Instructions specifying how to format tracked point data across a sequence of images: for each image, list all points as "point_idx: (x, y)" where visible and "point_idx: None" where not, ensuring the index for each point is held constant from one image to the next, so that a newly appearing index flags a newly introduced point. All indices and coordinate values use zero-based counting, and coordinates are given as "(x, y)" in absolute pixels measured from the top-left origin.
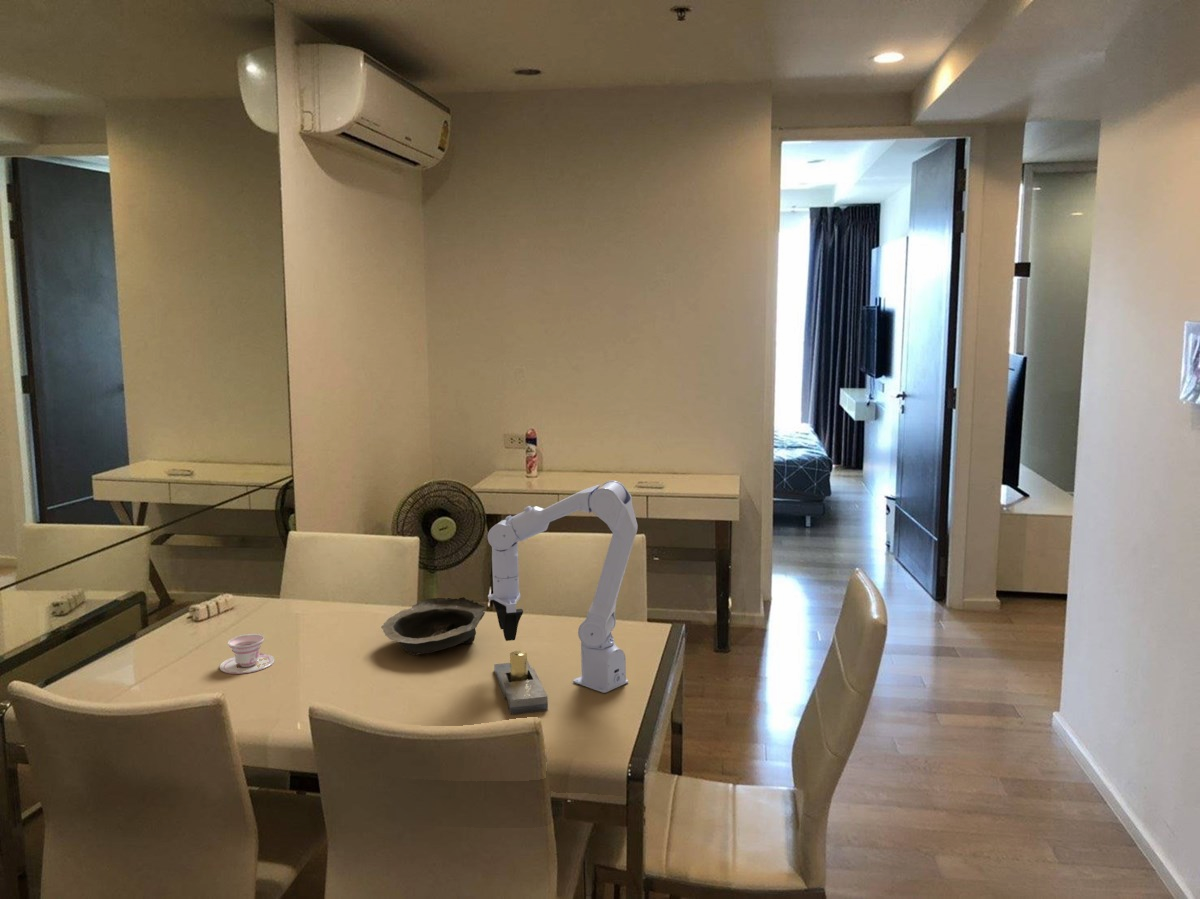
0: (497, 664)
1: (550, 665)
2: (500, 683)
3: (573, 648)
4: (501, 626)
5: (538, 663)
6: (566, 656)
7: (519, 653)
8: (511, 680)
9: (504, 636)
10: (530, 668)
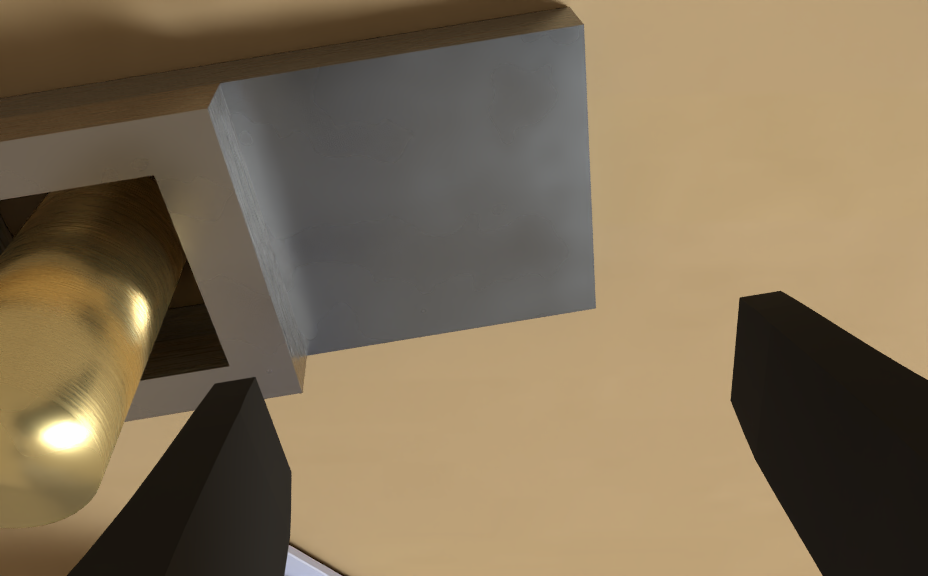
0: (575, 58)
1: (578, 411)
2: (138, 88)
3: None
4: (758, 335)
5: (638, 344)
6: (705, 486)
7: (6, 467)
8: (39, 219)
9: (189, 421)
10: (275, 373)
